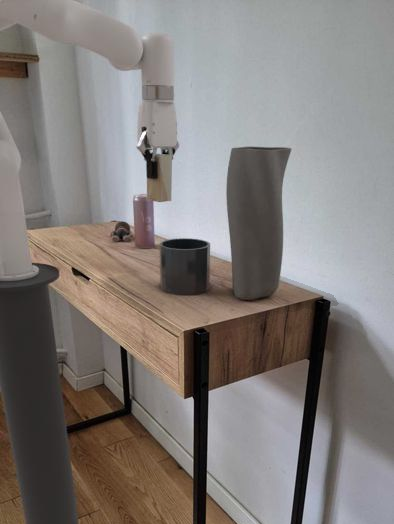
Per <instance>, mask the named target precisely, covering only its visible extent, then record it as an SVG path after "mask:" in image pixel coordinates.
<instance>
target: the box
mask: <svg viewBox="0 0 394 524" xmlns="http://www.w3.org/2000/svg"><path fill="white" fill-rule="evenodd" d="M155 161H157V165H158V178H157V179H151V178H147V177H146V194H147V200H151V201H153V202H156V203H165V202H171V201H172V187H173V185H172V183H173V179H172V178H173V177H172V176H173V160H172V155H167V154H161V153H156V160H155Z"/></svg>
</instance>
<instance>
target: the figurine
mask: <svg viewBox="0 0 394 524" xmlns="http://www.w3.org/2000/svg"><path fill="white" fill-rule="evenodd" d="M108 238H111V240H112V242H114V243H118V242H120V240H121V241H122V240H123V241H124V242H126V243H128V242H130V241H131V238H135V233H134V231H131V225H130V224H129V223H128V222H126V221H118V222H117V223H116V224H115V227H114V230H113V231H110V232H108Z"/></svg>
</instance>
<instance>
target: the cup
mask: <svg viewBox="0 0 394 524" xmlns="http://www.w3.org/2000/svg"><path fill="white" fill-rule="evenodd" d="M158 248H159V282H160V283H159V284H160V289H161V290H162V291H163V292H165V293H167V294H171V295H178V296H193V295H199V294H203V293H205V292H208V291H209V289H210V283H211V282H210V278H211V277H210V275H211V274H210V273H211V272H210V271H211V243H210V242H209V241H207V240H204V239H199V238H189V237H188V238H186V237H185V238H184V237H183V238H171V239H166V240H163V241H160V242H159V247H158Z"/></svg>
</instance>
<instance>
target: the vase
mask: <svg viewBox="0 0 394 524" xmlns="http://www.w3.org/2000/svg"><path fill="white" fill-rule="evenodd" d="M291 153H292V147H283V146H281V147H280V146H276V147H275V146H273V147H272V146H271V147H269V146H241V147H240V146H239V147H232V148H231V149H230V156H229V160H228V166H227V174H226V186H225V187H226V188H225V189H226V192H225V193H226V211H227V223H228V232H229V241H230V242H229V245H230V254H231V255H230V257H231V279H232V280H231V281H232V282H231V283H232V291H233V295H234V297H235V298H236V299H239V300H243V301H254V300H258V299H260V298H265V297H269V296H271V295H273V294H275V292H277V290H278V289H279V286H280V279H281V272H282V264H283V254H284V253H283V252H284V216H283V215H284V214H283V185H284V179H285V174H286V173H285V172H286V169H287V165H288V161H289V159H290V155H291Z"/></svg>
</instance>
